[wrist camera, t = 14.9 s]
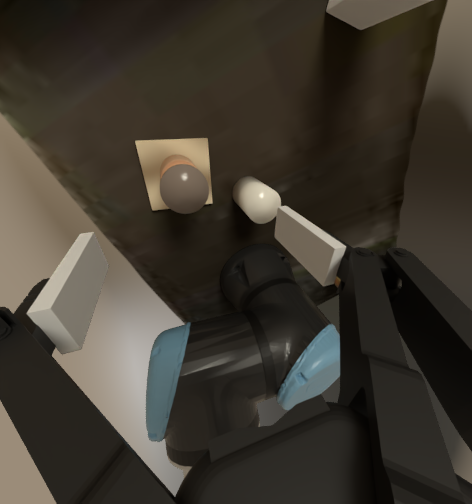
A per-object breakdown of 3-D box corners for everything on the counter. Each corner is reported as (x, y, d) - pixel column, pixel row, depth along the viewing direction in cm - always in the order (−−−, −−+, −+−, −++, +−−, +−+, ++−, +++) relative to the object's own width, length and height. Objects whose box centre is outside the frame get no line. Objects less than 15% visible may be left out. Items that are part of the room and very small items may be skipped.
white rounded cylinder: (260, 204, 36) (278, 221, 30) (232, 208, 34) (247, 225, 29) (261, 174, 33) (282, 186, 27) (232, 177, 32) (247, 190, 26)
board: (211, 202, 33) (212, 203, 32) (152, 209, 30) (152, 210, 30) (206, 138, 28) (207, 138, 27) (135, 140, 25) (134, 141, 25)
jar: (194, 151, 28) (205, 162, 21) (200, 189, 30) (211, 209, 24) (154, 155, 26) (153, 168, 20) (164, 195, 29) (166, 217, 23)
